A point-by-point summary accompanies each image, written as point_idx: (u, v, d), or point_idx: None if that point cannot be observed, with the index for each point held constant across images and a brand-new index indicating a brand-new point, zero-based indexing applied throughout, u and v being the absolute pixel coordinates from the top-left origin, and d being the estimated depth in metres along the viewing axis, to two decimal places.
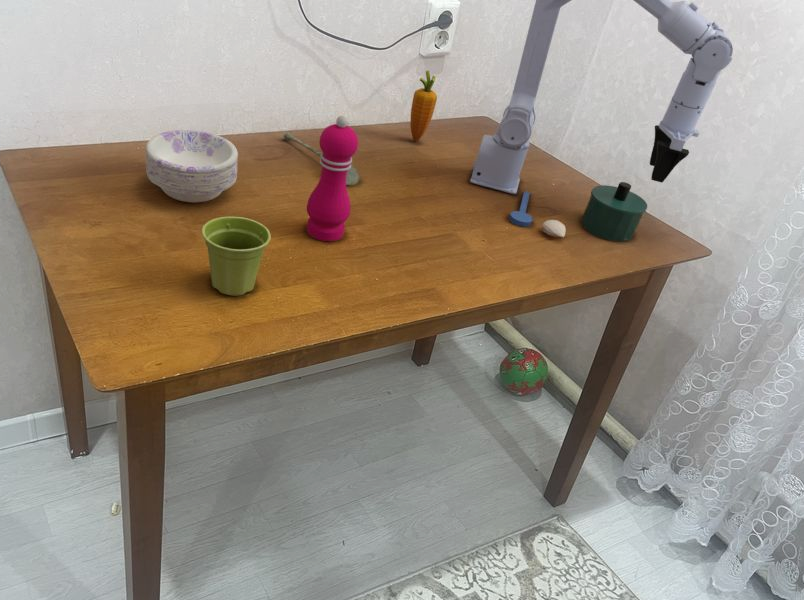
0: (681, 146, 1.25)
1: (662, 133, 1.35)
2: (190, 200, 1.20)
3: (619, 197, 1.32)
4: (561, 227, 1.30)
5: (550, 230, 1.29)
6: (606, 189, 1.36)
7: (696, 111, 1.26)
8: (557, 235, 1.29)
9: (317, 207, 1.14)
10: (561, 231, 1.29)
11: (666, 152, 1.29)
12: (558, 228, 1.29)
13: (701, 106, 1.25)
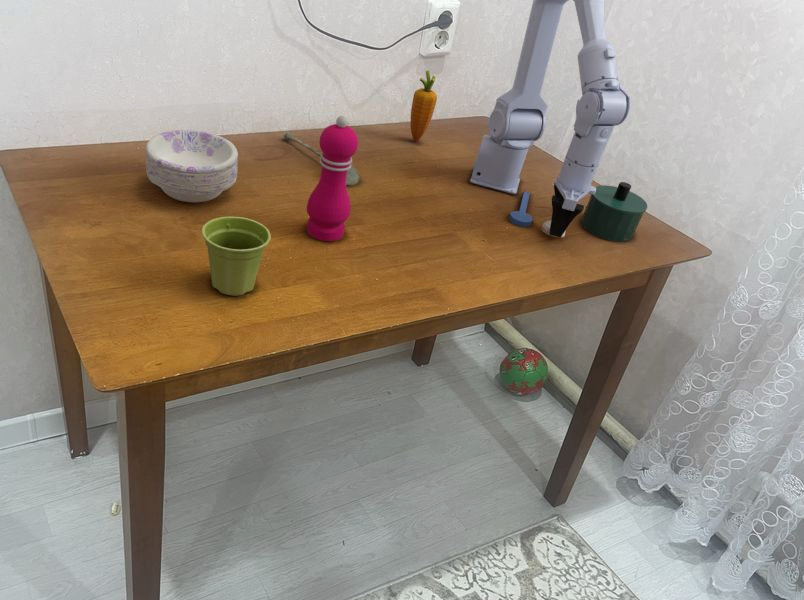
0: (573, 206, 1.20)
1: None
2: (190, 200, 1.20)
3: (619, 197, 1.32)
4: None
5: None
6: (606, 189, 1.36)
7: (589, 169, 1.20)
8: None
9: (317, 207, 1.14)
10: None
11: (561, 207, 1.25)
12: None
13: (580, 162, 1.20)
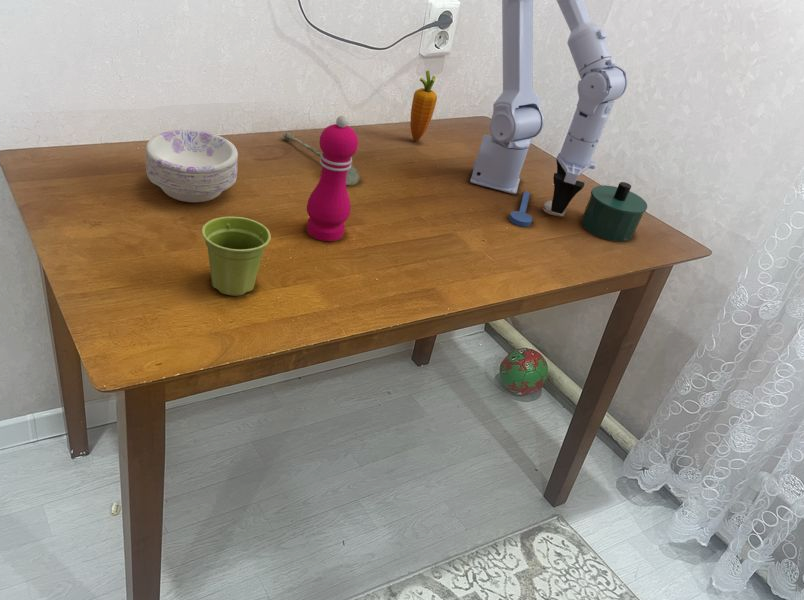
0: (574, 179, 1.26)
1: None
2: (190, 200, 1.20)
3: (619, 197, 1.32)
4: None
5: None
6: (606, 189, 1.36)
7: (590, 145, 1.27)
8: (557, 214, 1.36)
9: (317, 207, 1.14)
10: None
11: (563, 184, 1.30)
12: None
13: (586, 139, 1.26)
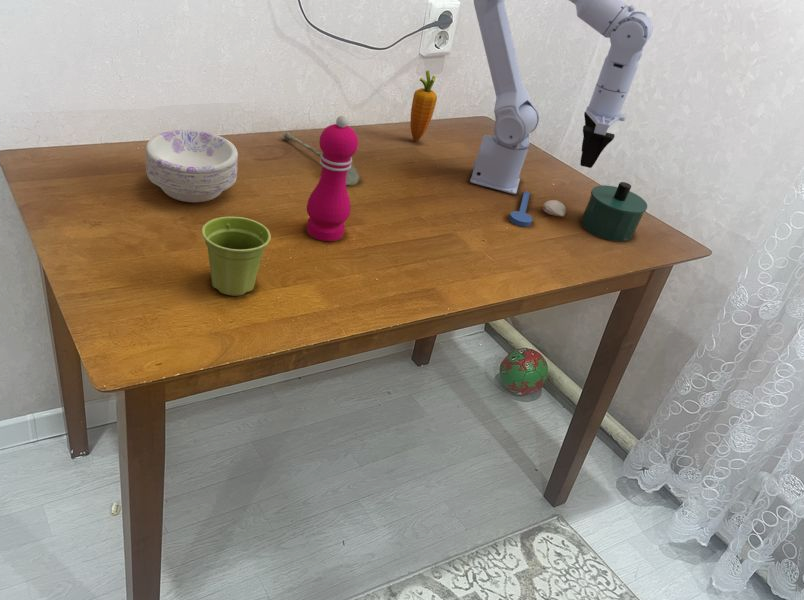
0: (605, 130, 1.25)
1: (591, 119, 1.34)
2: (190, 200, 1.20)
3: (619, 197, 1.32)
4: (561, 207, 1.37)
5: (551, 210, 1.36)
6: (606, 189, 1.36)
7: (620, 95, 1.25)
8: (557, 214, 1.36)
9: (317, 207, 1.14)
10: (561, 210, 1.36)
11: (592, 137, 1.29)
12: (558, 208, 1.36)
13: (622, 90, 1.25)
